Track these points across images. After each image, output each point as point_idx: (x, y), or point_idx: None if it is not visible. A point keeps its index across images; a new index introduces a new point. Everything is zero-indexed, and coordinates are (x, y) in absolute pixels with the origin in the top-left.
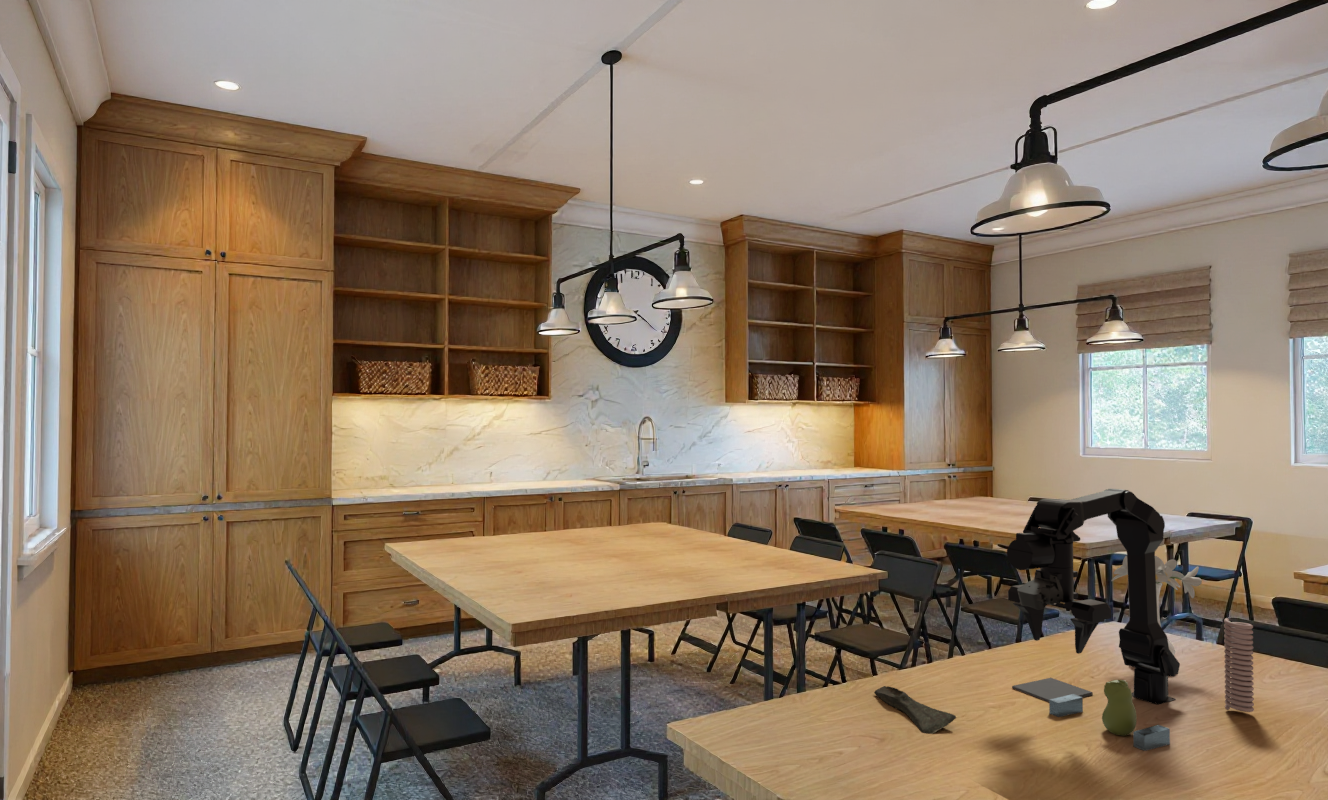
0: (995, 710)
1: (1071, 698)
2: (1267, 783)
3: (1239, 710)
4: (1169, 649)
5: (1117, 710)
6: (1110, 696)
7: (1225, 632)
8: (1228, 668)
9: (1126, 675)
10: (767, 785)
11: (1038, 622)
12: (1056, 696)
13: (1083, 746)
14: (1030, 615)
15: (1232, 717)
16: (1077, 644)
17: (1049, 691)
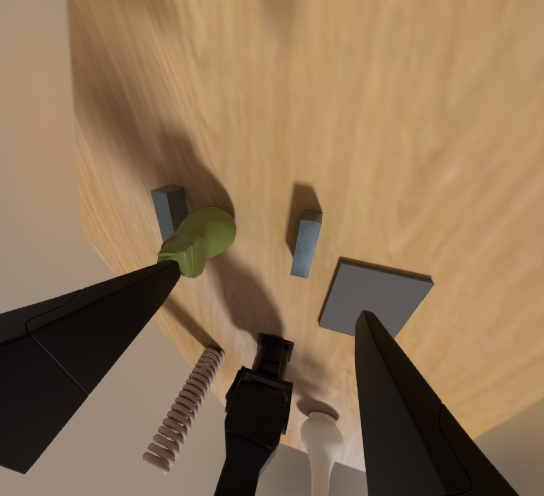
0: (421, 140)
1: (298, 257)
2: (91, 212)
3: (208, 348)
4: (301, 434)
5: (186, 218)
6: (185, 230)
7: (171, 445)
8: (195, 391)
9: (322, 386)
10: None
11: (374, 419)
12: (347, 285)
13: (213, 123)
14: (447, 492)
15: (209, 337)
16: (134, 273)
17: (365, 297)
